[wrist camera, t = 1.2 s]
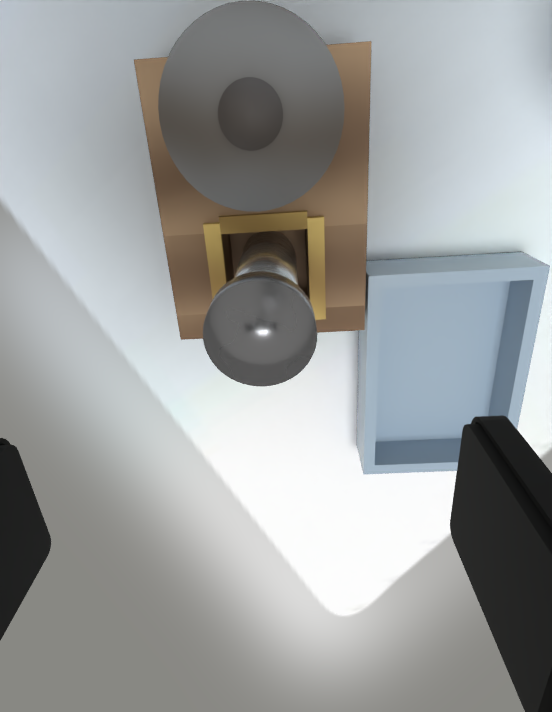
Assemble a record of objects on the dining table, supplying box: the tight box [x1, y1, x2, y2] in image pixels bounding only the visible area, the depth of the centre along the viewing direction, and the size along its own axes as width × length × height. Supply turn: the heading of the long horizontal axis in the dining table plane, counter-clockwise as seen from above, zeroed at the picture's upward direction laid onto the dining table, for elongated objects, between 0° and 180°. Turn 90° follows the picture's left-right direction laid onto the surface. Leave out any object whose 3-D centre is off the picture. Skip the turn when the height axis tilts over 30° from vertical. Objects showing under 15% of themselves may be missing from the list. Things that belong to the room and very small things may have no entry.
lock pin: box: [203, 231, 317, 386], centre depth 21 cm, size 4×4×11 cm
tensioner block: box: [134, 1, 371, 339], centre depth 22 cm, size 14×10×8 cm
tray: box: [357, 252, 550, 474], centre depth 29 cm, size 13×9×3 cm
